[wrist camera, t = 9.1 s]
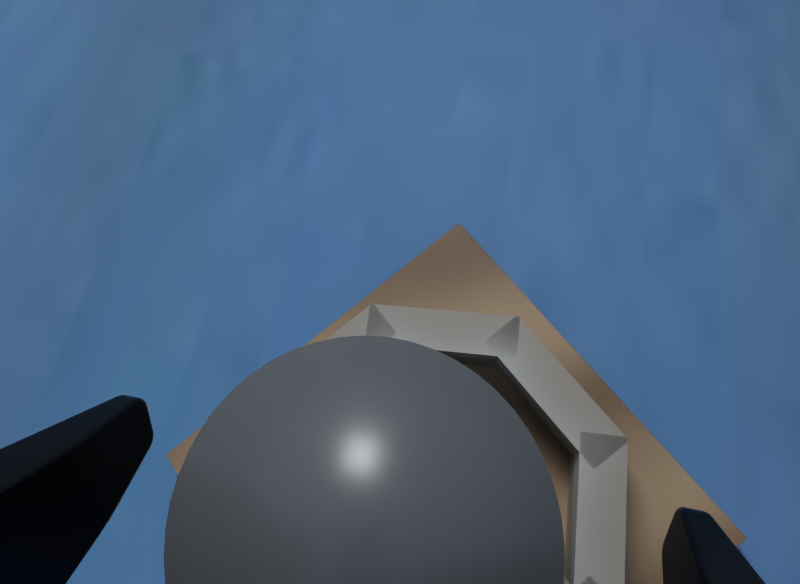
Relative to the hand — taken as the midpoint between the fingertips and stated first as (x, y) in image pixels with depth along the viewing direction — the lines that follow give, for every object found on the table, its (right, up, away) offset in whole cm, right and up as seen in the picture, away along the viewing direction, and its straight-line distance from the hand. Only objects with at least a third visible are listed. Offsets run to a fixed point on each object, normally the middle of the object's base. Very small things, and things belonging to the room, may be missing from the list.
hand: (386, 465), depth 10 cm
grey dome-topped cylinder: (+1, -3, +8) cm, 9 cm away
